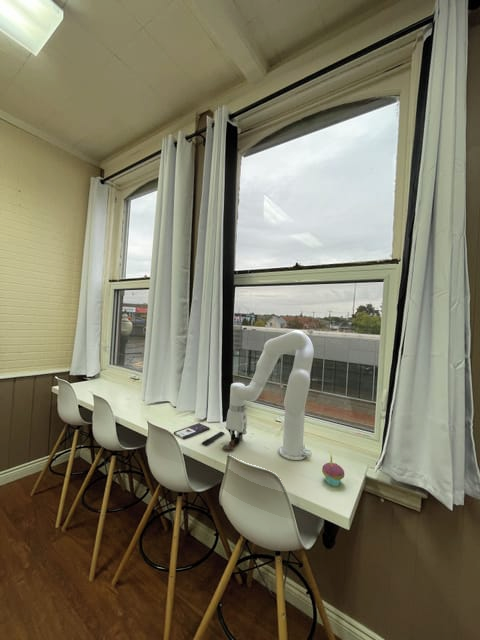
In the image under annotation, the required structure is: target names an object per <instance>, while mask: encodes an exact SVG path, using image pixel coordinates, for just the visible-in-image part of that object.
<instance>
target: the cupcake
mask: <svg viewBox="0 0 480 640" xmlns="http://www.w3.org/2000/svg"><path fill="white" fill-rule="evenodd" d="M329 457H330V458H329V460H330V462H327V463H324V464H323V465H322V469H321V471H322V474H323V475H324V477H325V482H326V483H327V484H328V485H330V486H332V487H337V486H339V485H340V482H341V481H342V479H344V478H345V470H344V469H343V468H342V466H340V465H339V464H337V463H335V462H333V456H332V454H330V455H329Z"/></svg>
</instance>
